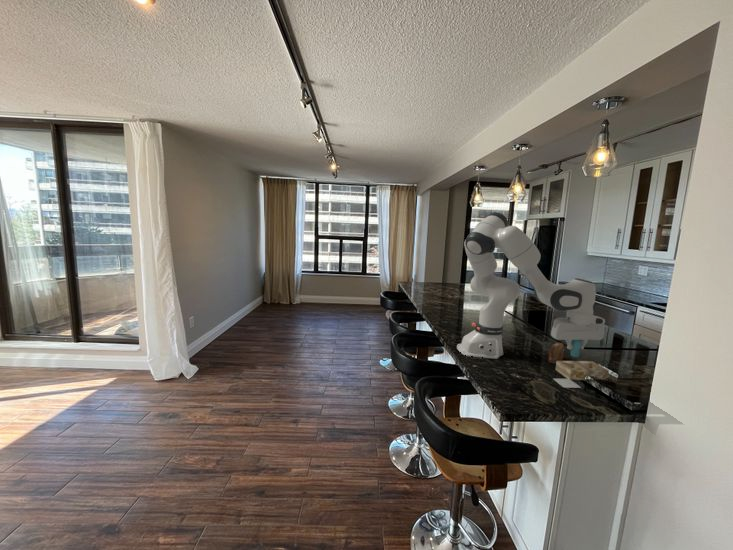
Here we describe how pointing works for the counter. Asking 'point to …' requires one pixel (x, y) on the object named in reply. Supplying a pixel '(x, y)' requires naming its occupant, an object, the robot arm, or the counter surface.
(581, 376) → the socket block
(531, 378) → the counter surface
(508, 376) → the counter surface
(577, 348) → the plug
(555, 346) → the brown rounded slab
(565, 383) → the deck
